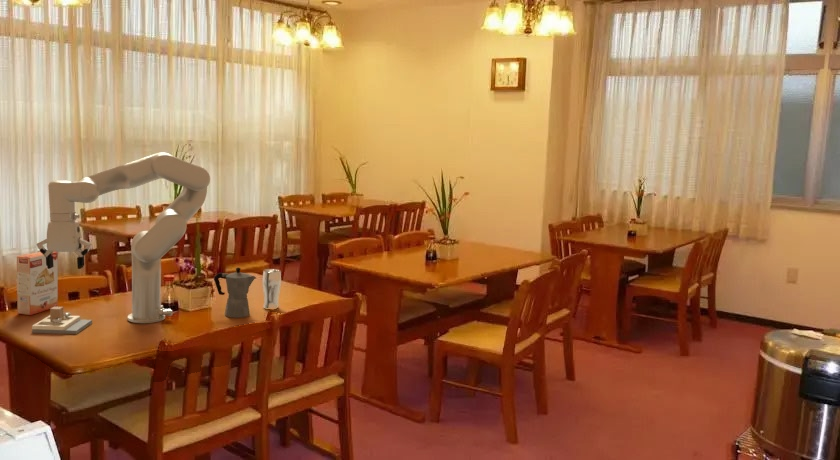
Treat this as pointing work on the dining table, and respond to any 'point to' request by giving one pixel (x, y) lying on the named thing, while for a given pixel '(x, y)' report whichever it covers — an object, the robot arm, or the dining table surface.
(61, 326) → the panel
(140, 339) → the dining table surface
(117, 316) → the dining table surface
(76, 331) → the board
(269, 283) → the beer glass
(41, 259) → the cracker box
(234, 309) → the coffeepot
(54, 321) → the bosses
